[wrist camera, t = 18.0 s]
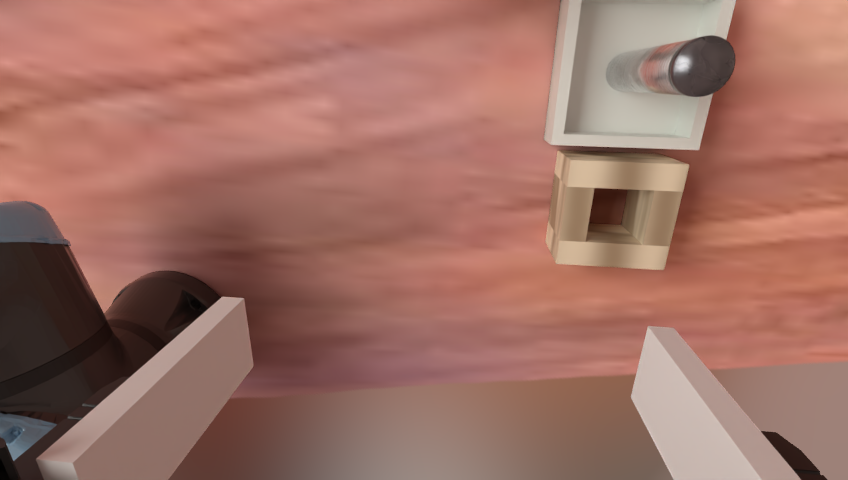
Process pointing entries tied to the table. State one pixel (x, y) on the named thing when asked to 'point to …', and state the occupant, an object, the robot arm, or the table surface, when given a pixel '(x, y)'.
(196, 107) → the table surface
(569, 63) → the tray
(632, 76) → the glass vial with cap
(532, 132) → the table surface
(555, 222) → the hollow square frame
